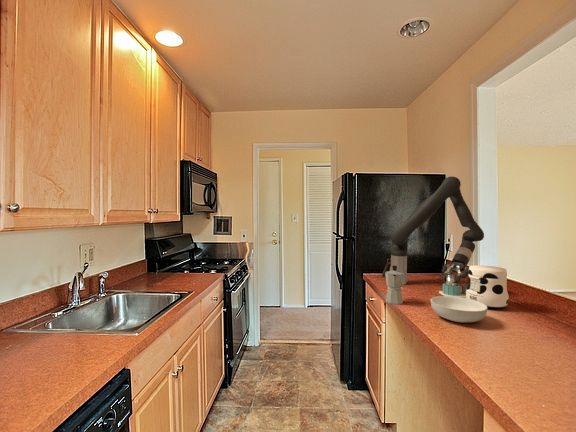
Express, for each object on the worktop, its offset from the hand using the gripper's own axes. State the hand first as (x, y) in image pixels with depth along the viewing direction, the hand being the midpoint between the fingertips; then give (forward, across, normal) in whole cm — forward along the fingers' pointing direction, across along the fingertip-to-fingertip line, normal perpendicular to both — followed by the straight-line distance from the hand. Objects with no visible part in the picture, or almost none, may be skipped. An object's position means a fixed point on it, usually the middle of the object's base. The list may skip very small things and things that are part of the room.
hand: (449, 281), depth 168 cm
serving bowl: (+28, +22, -17) cm, 39 cm away
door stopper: (-3, -50, +15) cm, 52 cm away
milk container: (+7, +19, +5) cm, 20 cm away
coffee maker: (+30, -9, -18) cm, 36 cm away
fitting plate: (+2, +3, +9) cm, 10 cm away
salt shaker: (+3, 0, +6) cm, 7 cm away
